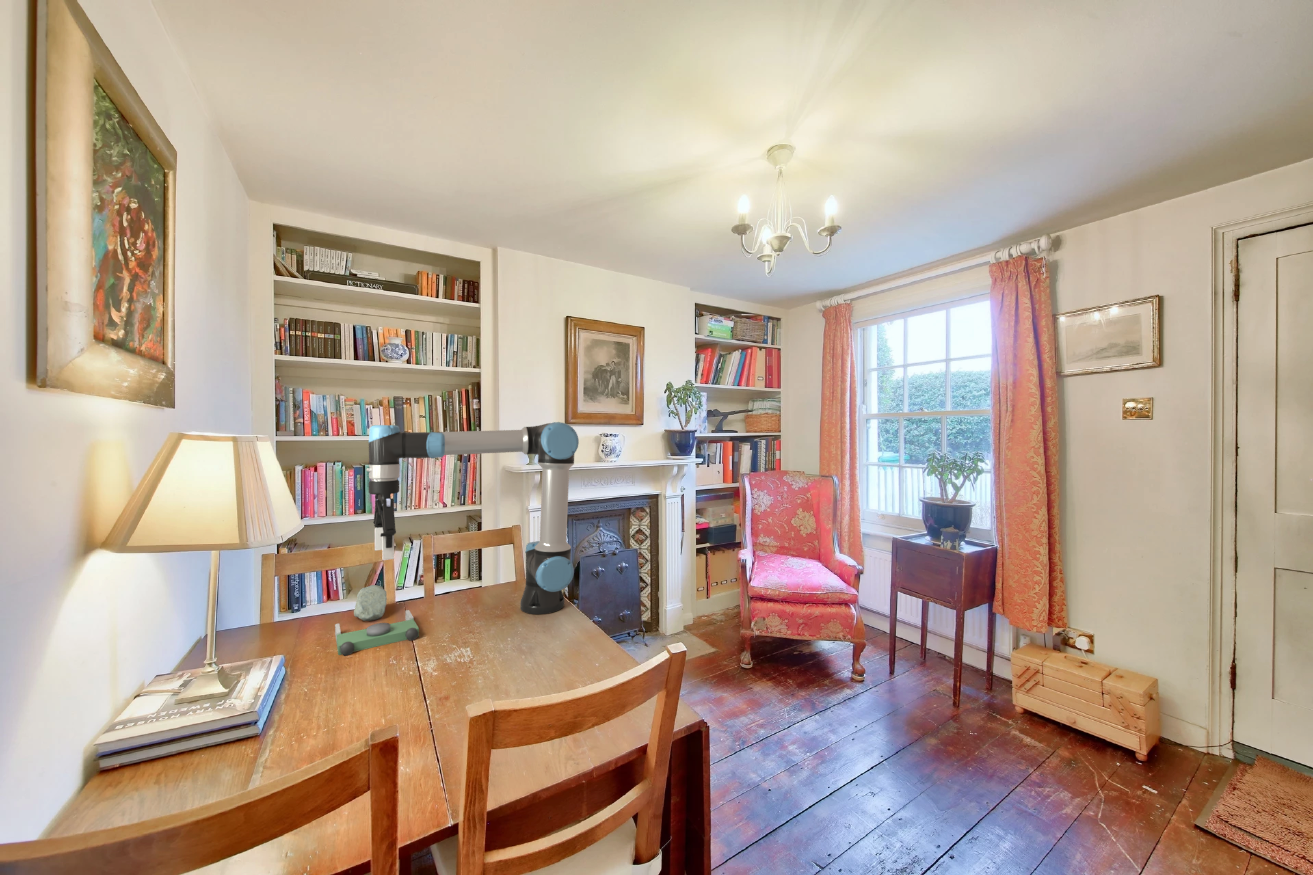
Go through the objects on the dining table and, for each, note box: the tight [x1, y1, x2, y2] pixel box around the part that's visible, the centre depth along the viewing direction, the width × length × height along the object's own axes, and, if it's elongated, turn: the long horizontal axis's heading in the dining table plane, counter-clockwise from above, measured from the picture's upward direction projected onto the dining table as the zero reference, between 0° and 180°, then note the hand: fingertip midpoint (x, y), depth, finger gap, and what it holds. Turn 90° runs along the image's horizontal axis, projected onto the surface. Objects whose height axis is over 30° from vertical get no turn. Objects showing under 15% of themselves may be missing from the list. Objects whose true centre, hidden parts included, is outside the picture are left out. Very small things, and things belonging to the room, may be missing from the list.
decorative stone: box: [353, 584, 388, 622], centre depth 157 cm, size 13×11×10 cm
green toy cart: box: [334, 609, 420, 656], centre depth 141 cm, size 20×19×4 cm
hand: (384, 554), depth 134 cm, fingers open, 13 cm apart
